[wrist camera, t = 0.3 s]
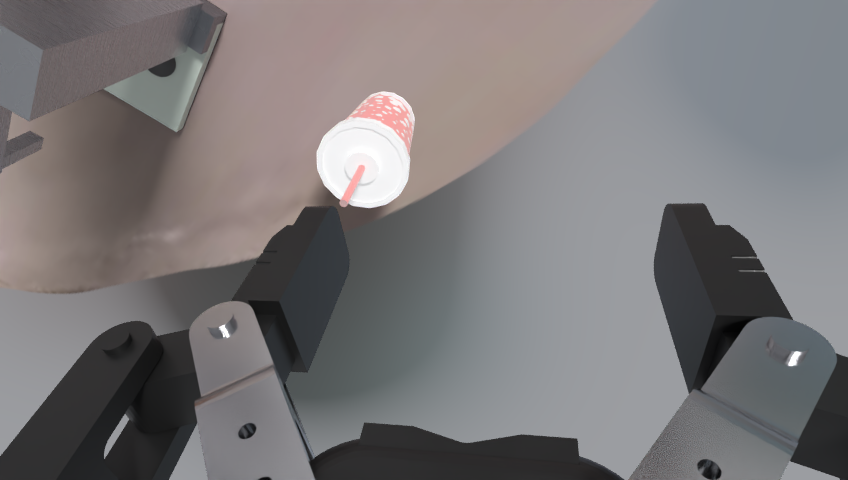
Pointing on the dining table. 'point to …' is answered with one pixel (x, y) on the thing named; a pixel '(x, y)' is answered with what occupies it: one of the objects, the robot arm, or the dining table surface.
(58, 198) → the dining table surface
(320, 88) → the dining table surface
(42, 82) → the rail
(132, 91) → the hole plate
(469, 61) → the dining table surface
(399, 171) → the beverage cup
